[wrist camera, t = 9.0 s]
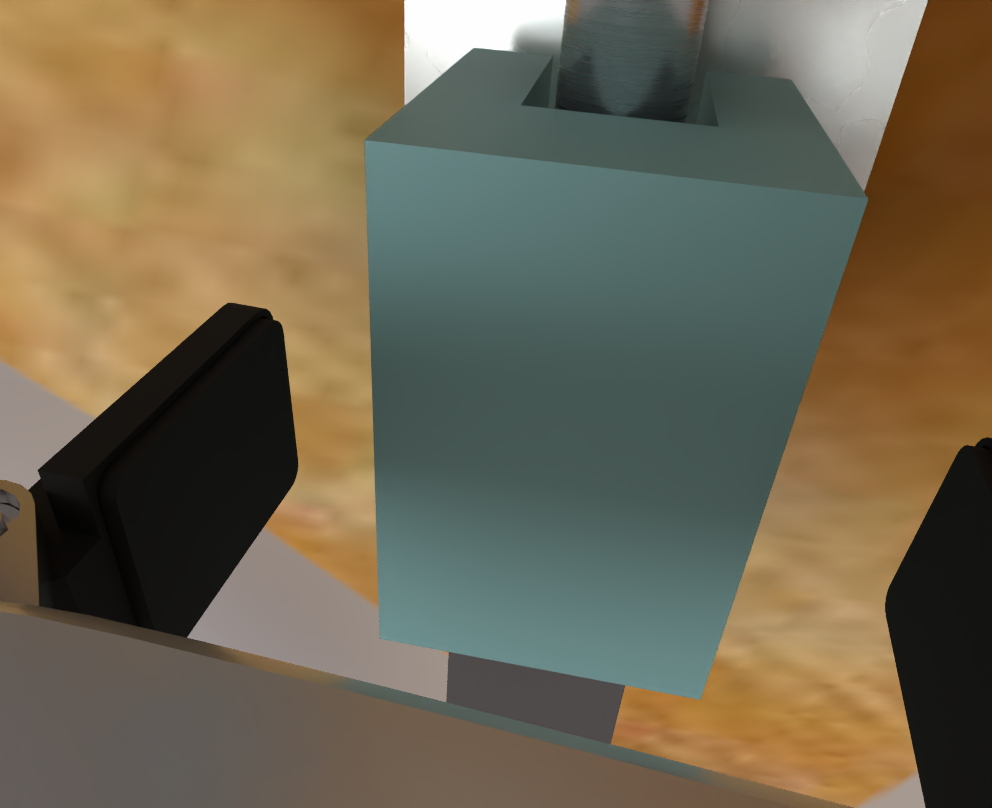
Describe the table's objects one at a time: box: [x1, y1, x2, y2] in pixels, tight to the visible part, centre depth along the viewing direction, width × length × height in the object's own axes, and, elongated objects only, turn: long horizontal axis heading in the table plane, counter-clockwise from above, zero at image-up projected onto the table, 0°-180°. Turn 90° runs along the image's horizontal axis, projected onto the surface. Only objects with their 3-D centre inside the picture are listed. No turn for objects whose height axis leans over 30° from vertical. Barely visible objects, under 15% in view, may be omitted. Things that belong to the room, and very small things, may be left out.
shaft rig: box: [405, 0, 928, 744], centre depth 16 cm, size 10×20×7 cm, turn 176°
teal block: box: [365, 47, 868, 700], centre depth 14 cm, size 6×9×6 cm, turn 176°
